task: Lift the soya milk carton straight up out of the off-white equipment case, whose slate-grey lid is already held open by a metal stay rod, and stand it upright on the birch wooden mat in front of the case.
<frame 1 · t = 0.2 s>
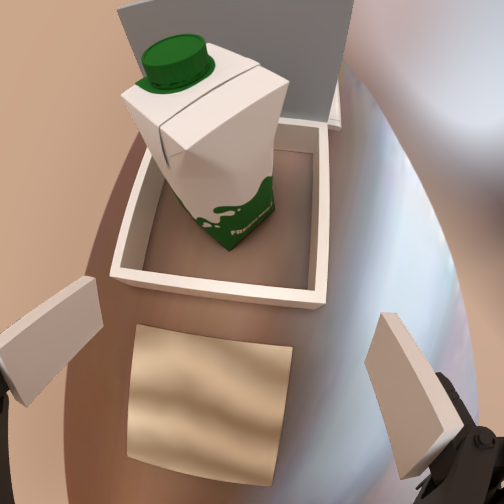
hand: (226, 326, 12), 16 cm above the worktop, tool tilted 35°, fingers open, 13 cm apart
soya milk: (231, 210, 31), resting in equipment case
hard drive: (311, 102, 37), on the worktop
equipment case: (231, 209, 31), on the worktop
wooden mat: (203, 411, 25), on the worktop
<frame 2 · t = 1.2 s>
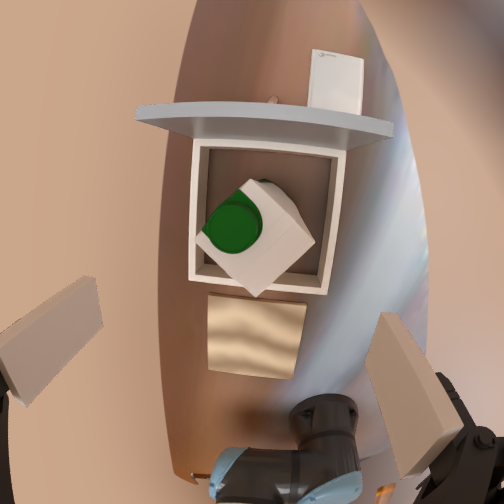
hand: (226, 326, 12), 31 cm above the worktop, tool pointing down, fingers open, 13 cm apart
soya milk: (265, 212, 41), resting in equipment case
hard drive: (334, 90, 36), on the worktop
equipment case: (265, 212, 41), on the worktop
wooden mat: (253, 338, 48), on the worktop
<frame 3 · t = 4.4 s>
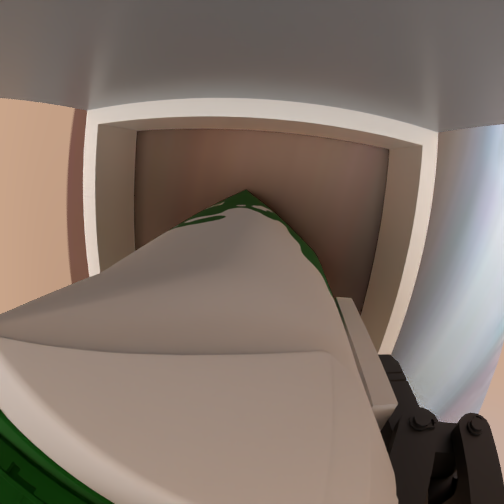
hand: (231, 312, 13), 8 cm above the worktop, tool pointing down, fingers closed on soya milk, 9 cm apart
soya milk: (249, 259, 20), resting in equipment case, touching gripper
equipment case: (249, 260, 20), on the worktop
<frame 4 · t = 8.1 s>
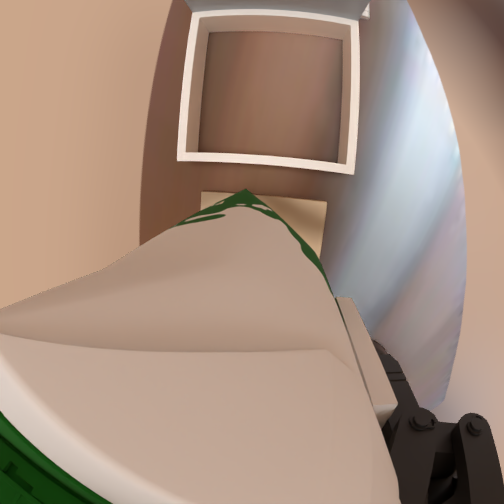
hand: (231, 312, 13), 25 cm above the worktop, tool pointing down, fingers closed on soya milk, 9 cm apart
soya milk: (249, 259, 20), point 17 cm above the worktop, touching gripper
equipment case: (271, 89, 31), on the worktop
wooden mat: (259, 253, 38), on the worktop
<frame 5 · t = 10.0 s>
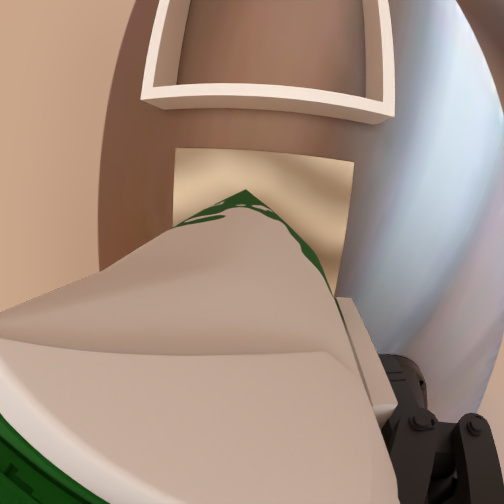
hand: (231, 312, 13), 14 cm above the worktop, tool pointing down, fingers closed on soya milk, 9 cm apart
soya milk: (249, 259, 20), point 7 cm above the worktop, touching gripper
equipment case: (274, 21, 20), on the worktop
wooden mat: (257, 237, 26), on the worktop
when the fingers open (9 cm above the worktop, at t = 11.9 s): soya milk stays where it is, resting on wooden mat.
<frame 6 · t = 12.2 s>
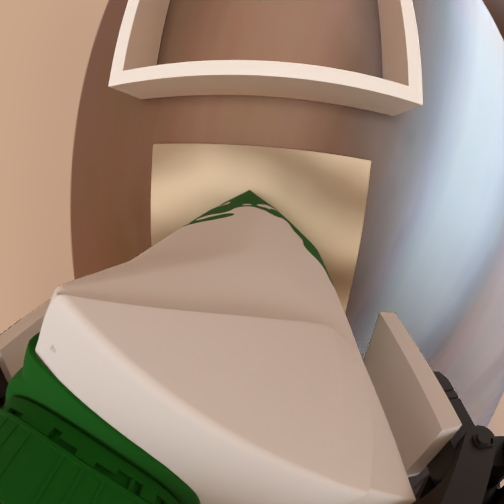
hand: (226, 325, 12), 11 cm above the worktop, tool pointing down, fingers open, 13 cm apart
soya milk: (253, 256, 21), point 1 cm above the worktop, touching wooden mat
wooden mat: (252, 252, 22), on the worktop
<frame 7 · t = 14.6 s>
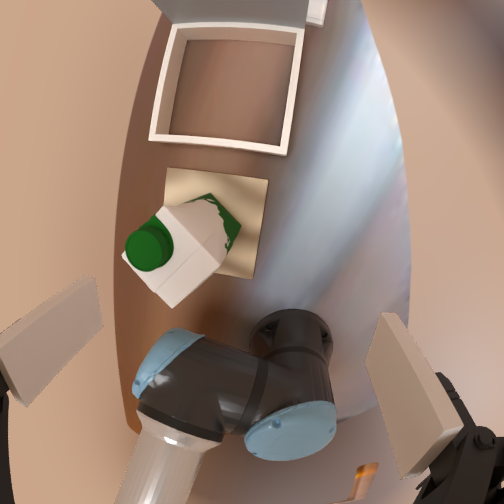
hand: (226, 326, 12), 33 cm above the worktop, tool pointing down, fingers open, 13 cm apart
soya milk: (211, 224, 44), point 1 cm above the worktop, touching wooden mat
hard drive: (303, 0, 32), on the worktop
equipment case: (230, 87, 38), on the worktop
wooden mat: (210, 222, 44), on the worktop
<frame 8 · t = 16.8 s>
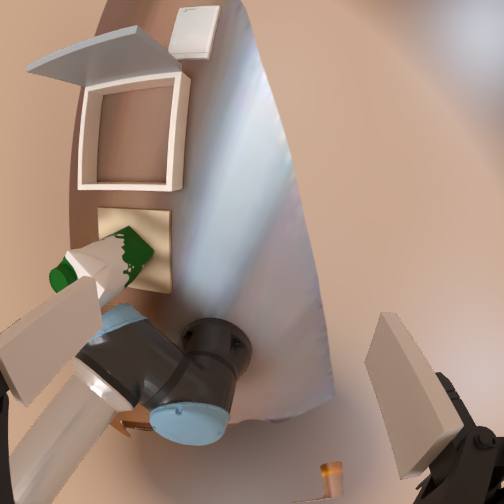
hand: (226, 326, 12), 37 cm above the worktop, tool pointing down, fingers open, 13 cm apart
soya milk: (133, 250, 51), point 1 cm above the worktop, touching wooden mat
hard drive: (195, 34, 39), on the worktop
equipment case: (135, 134, 45), on the worktop
wooden mat: (134, 248, 51), on the worktop
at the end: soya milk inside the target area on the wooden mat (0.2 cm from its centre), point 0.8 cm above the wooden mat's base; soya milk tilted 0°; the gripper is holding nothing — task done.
